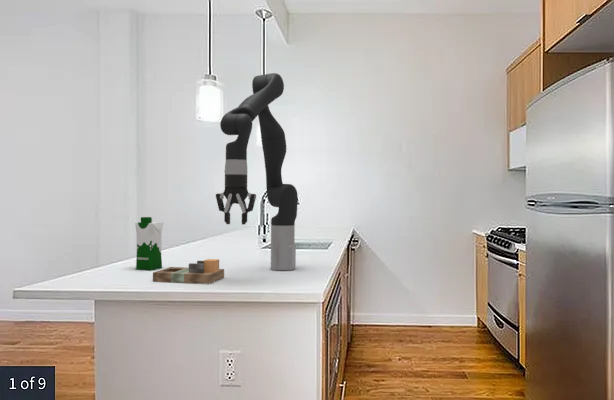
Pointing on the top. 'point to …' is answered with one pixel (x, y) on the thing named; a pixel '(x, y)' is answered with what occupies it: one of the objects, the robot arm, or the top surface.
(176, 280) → the wooden tray
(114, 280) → the top surface
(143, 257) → the milk carton
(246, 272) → the top surface
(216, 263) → the orange block
